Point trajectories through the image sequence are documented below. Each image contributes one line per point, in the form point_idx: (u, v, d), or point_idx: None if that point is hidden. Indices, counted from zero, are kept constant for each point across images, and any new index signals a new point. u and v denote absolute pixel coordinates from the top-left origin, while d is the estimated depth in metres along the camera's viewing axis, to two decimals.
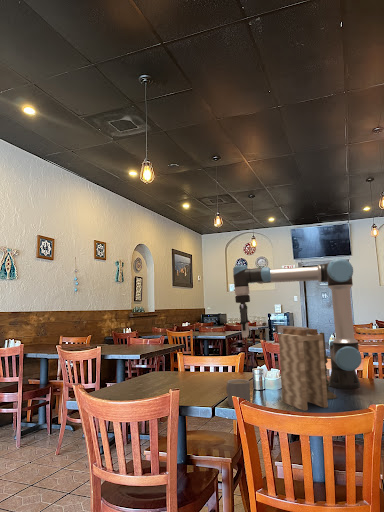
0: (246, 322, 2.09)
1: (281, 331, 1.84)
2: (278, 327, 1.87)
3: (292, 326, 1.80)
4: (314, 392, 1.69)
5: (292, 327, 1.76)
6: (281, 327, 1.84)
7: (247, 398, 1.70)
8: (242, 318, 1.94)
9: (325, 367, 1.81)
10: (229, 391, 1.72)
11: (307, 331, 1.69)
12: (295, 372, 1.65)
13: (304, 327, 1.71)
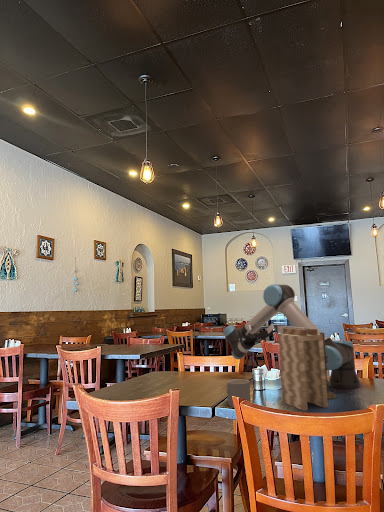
0: None
1: (281, 331, 1.84)
2: (278, 327, 1.87)
3: (292, 326, 1.80)
4: (314, 392, 1.69)
5: (292, 327, 1.76)
6: (281, 327, 1.84)
7: (247, 398, 1.70)
8: (239, 335, 2.10)
9: (325, 367, 1.81)
10: (229, 391, 1.72)
11: (307, 331, 1.69)
12: (295, 372, 1.65)
13: (304, 327, 1.71)
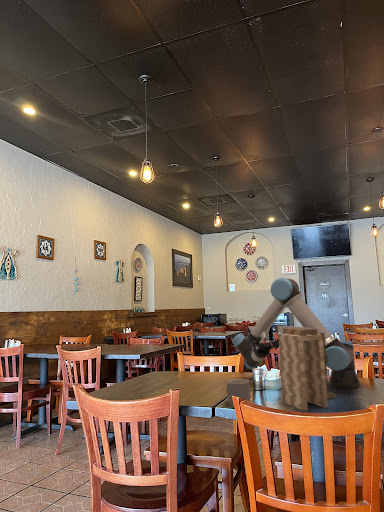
0: None
1: (281, 331, 1.84)
2: (278, 327, 1.87)
3: (292, 326, 1.80)
4: (314, 392, 1.69)
5: (292, 327, 1.76)
6: (281, 327, 1.84)
7: (247, 398, 1.70)
8: (252, 343, 1.94)
9: (325, 367, 1.81)
10: (229, 391, 1.72)
11: (307, 331, 1.69)
12: (295, 372, 1.65)
13: (304, 327, 1.71)
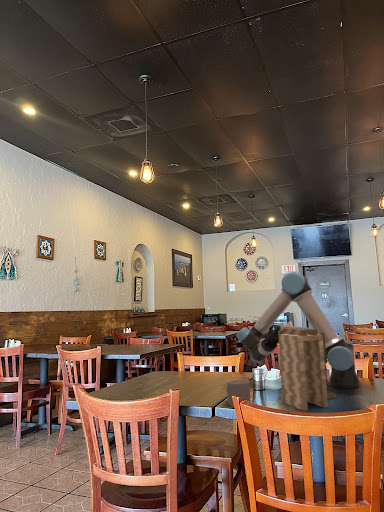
0: None
1: (281, 331, 1.84)
2: None
3: (292, 326, 1.80)
4: (314, 392, 1.69)
5: (292, 327, 1.76)
6: None
7: (247, 398, 1.70)
8: (269, 333, 1.87)
9: (325, 367, 1.81)
10: (229, 391, 1.72)
11: (307, 331, 1.69)
12: (295, 372, 1.65)
13: (304, 327, 1.71)
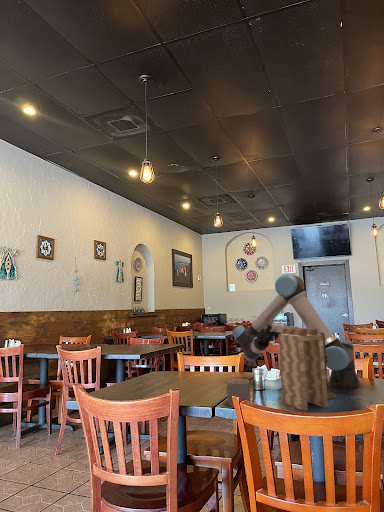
0: None
1: None
2: None
3: None
4: (314, 392, 1.69)
5: (283, 326, 1.83)
6: None
7: (247, 398, 1.70)
8: (261, 332, 1.95)
9: (325, 367, 1.81)
10: (229, 391, 1.72)
11: None
12: (295, 372, 1.65)
13: None
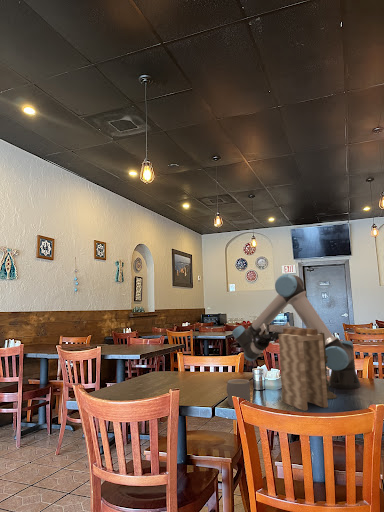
0: None
1: (272, 330, 1.92)
2: (270, 326, 1.94)
3: None
4: (314, 392, 1.69)
5: (282, 326, 1.83)
6: (272, 326, 1.92)
7: (247, 398, 1.70)
8: (252, 335, 1.95)
9: (325, 367, 1.81)
10: (229, 391, 1.72)
11: None
12: (295, 372, 1.65)
13: None
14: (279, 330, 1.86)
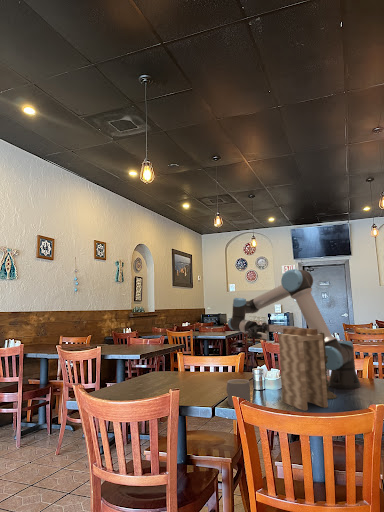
0: None
1: (272, 330, 1.92)
2: (270, 326, 1.94)
3: None
4: (314, 392, 1.69)
5: (282, 326, 1.83)
6: (272, 326, 1.92)
7: (247, 398, 1.70)
8: (250, 335, 2.07)
9: (325, 367, 1.81)
10: (229, 391, 1.72)
11: None
12: (295, 372, 1.65)
13: None
14: (279, 330, 1.86)
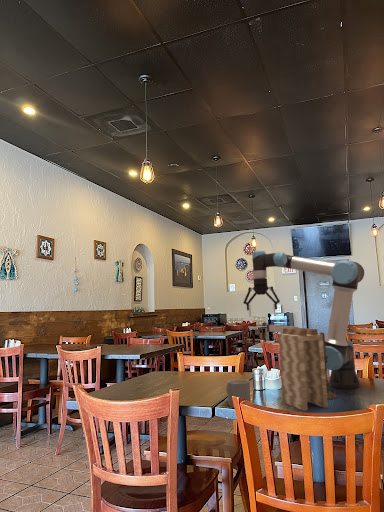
0: None
1: (272, 330, 1.92)
2: (270, 326, 1.94)
3: None
4: (314, 392, 1.69)
5: (282, 326, 1.83)
6: (272, 326, 1.92)
7: (247, 398, 1.70)
8: None
9: (325, 367, 1.81)
10: (229, 391, 1.72)
11: None
12: (295, 372, 1.65)
13: None
14: (279, 330, 1.86)
